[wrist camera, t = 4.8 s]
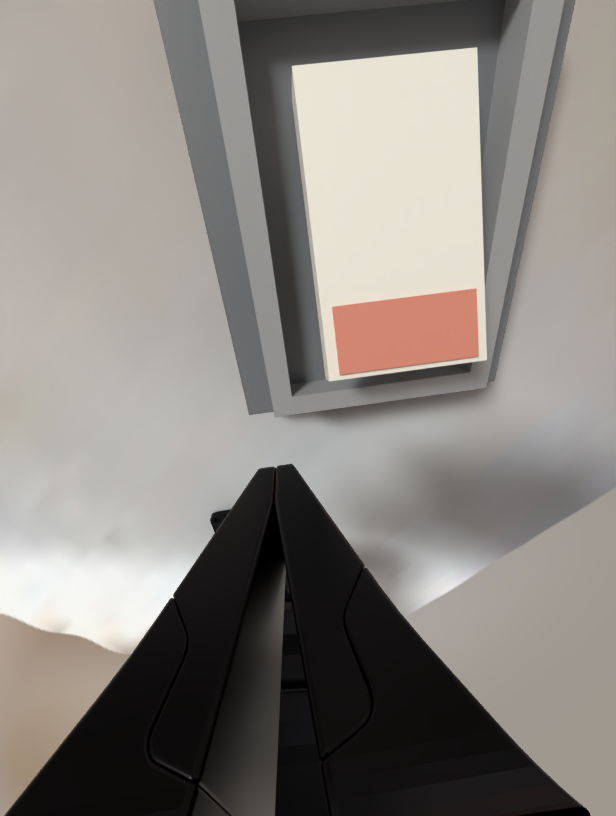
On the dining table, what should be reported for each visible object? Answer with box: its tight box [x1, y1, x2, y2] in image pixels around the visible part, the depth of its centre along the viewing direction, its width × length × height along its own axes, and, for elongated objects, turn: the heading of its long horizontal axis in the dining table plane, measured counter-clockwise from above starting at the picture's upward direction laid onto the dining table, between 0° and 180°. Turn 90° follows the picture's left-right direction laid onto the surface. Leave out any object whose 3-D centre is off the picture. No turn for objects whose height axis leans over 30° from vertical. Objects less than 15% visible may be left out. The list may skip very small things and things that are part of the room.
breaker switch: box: [292, 47, 487, 381], centre depth 11 cm, size 10×6×1 cm, turn 6°
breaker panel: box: [154, 0, 575, 417], centre depth 14 cm, size 16×14×4 cm
